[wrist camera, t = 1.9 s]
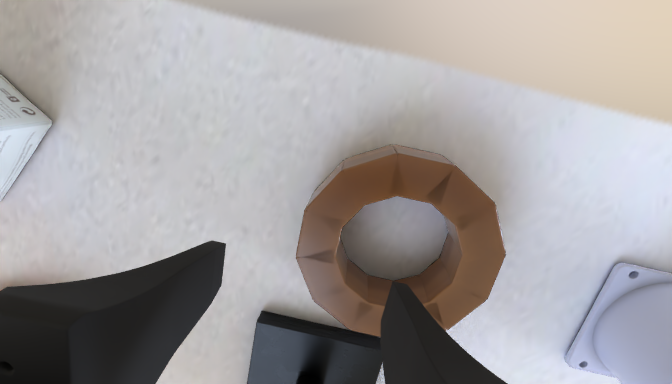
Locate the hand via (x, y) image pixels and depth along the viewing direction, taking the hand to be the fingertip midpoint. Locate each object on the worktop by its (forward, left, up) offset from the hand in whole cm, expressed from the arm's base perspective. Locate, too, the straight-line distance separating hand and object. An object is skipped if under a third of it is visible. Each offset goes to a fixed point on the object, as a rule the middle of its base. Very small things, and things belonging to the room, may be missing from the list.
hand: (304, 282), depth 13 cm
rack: (-1, +13, -7) cm, 15 cm away
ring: (-4, 0, -7) cm, 9 cm away
